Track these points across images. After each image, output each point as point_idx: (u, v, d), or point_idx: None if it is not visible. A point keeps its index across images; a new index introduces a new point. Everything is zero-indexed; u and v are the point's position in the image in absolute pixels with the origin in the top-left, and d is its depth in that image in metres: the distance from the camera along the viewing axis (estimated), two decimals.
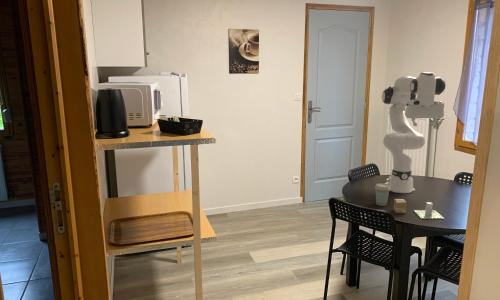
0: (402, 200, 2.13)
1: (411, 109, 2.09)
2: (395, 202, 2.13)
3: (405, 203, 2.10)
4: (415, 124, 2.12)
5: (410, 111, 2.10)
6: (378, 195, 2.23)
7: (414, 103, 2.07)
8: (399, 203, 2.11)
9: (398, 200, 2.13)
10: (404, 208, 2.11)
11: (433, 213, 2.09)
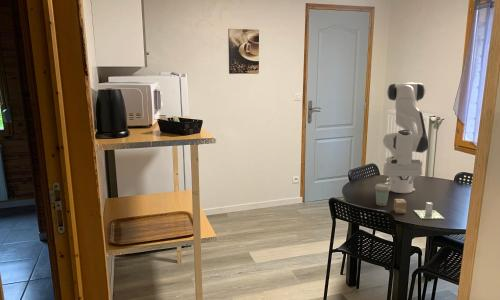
0: (402, 200, 2.13)
1: (389, 167, 2.07)
2: (395, 202, 2.13)
3: (405, 203, 2.10)
4: (393, 182, 2.10)
5: (388, 169, 2.08)
6: (378, 195, 2.23)
7: (392, 162, 2.06)
8: (399, 203, 2.11)
9: (398, 200, 2.13)
10: (404, 208, 2.11)
11: (433, 213, 2.09)
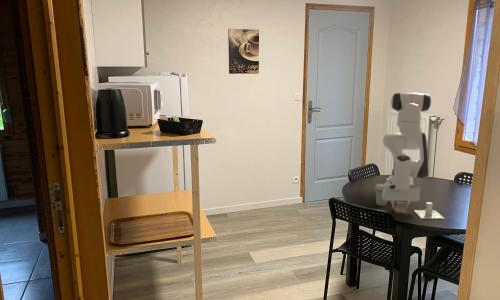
0: None
1: (387, 192, 2.10)
2: (395, 202, 2.13)
3: (405, 203, 2.10)
4: (394, 206, 2.13)
5: (386, 194, 2.11)
6: (378, 195, 2.23)
7: (390, 187, 2.08)
8: (399, 203, 2.11)
9: None
10: (404, 208, 2.11)
11: (433, 213, 2.09)
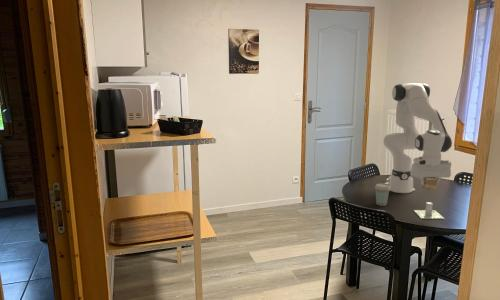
0: (432, 177, 2.04)
1: (417, 168, 2.02)
2: (424, 179, 2.05)
3: (435, 179, 2.01)
4: (423, 183, 2.04)
5: (416, 170, 2.02)
6: (378, 195, 2.23)
7: (420, 163, 2.00)
8: (429, 179, 2.02)
9: (428, 177, 2.04)
10: (434, 185, 2.02)
11: (433, 213, 2.09)
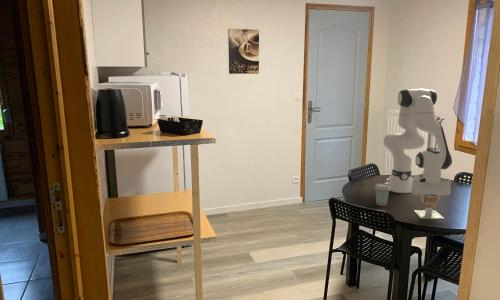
0: None
1: (417, 186, 2.03)
2: (425, 196, 2.06)
3: (436, 197, 2.03)
4: (424, 201, 2.06)
5: (416, 188, 2.04)
6: (378, 195, 2.23)
7: (420, 181, 2.01)
8: (429, 197, 2.03)
9: None
10: (434, 202, 2.04)
11: (433, 213, 2.09)
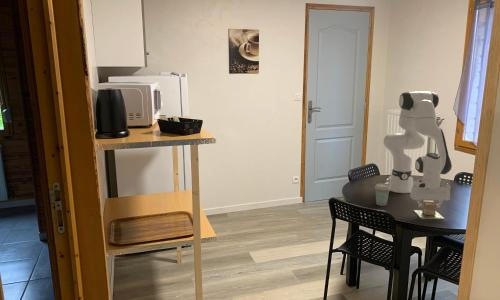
0: (431, 202, 2.07)
1: (416, 191, 2.04)
2: (424, 204, 2.07)
3: (435, 205, 2.04)
4: (420, 205, 2.07)
5: (415, 193, 2.04)
6: (378, 195, 2.23)
7: (420, 186, 2.02)
8: (428, 205, 2.04)
9: (427, 202, 2.07)
10: (433, 210, 2.05)
11: None
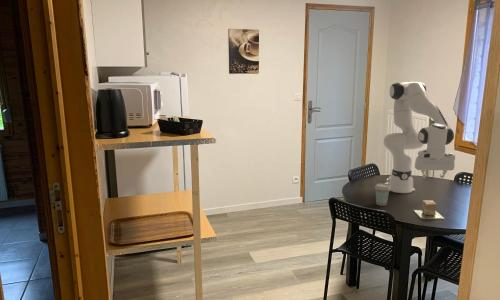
0: (431, 202, 2.07)
1: (421, 161, 2.05)
2: (424, 204, 2.07)
3: (435, 205, 2.04)
4: (425, 176, 2.08)
5: (420, 163, 2.06)
6: (378, 195, 2.23)
7: (424, 156, 2.03)
8: (428, 205, 2.04)
9: (427, 202, 2.07)
10: (433, 210, 2.05)
11: None
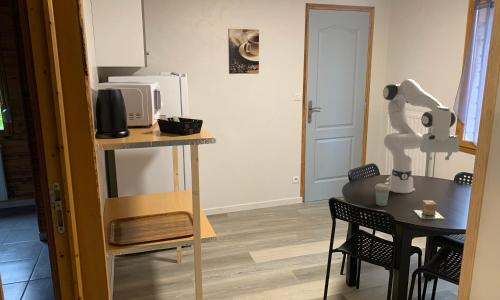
0: (431, 202, 2.07)
1: (426, 143, 2.08)
2: (424, 204, 2.07)
3: (435, 205, 2.04)
4: (430, 158, 2.11)
5: (425, 145, 2.09)
6: (378, 195, 2.23)
7: (429, 138, 2.06)
8: (428, 205, 2.04)
9: (427, 202, 2.07)
10: (433, 210, 2.05)
11: None
